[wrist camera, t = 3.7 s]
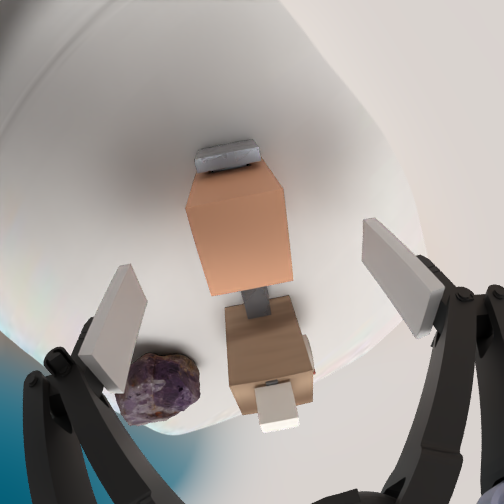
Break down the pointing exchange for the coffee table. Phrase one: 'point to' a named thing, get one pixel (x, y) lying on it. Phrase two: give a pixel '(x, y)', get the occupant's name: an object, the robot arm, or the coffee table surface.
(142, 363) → the rock
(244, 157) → the rail
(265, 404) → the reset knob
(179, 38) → the coffee table surface
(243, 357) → the cabinet
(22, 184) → the coffee table surface
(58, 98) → the coffee table surface
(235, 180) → the block
